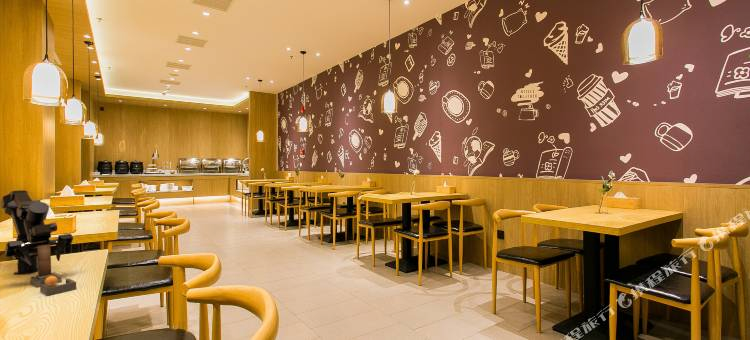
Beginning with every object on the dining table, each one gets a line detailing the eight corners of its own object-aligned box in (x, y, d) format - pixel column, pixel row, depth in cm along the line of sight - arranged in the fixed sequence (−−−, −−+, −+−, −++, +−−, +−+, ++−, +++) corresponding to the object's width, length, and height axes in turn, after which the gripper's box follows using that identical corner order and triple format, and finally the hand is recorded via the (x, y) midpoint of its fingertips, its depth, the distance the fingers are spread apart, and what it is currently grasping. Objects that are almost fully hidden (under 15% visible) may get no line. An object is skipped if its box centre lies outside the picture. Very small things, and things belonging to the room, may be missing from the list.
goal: (40, 291, 127) (40, 284, 127) (69, 285, 134) (69, 278, 134) (46, 296, 123) (46, 288, 123) (76, 289, 130) (76, 282, 130)
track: (30, 283, 137) (30, 277, 136) (54, 278, 142) (54, 272, 142) (36, 287, 132) (36, 281, 132) (61, 282, 137) (61, 276, 137)
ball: (49, 284, 135) (49, 274, 135) (60, 284, 135) (60, 274, 135) (42, 288, 131) (41, 278, 131) (53, 287, 132) (53, 277, 132)
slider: (35, 281, 137) (34, 245, 137) (50, 278, 141) (49, 243, 140) (40, 284, 134) (38, 247, 133) (55, 280, 137) (54, 245, 137)
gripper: (5, 219, 132) (14, 254, 126) (70, 213, 147) (81, 244, 141) (1, 239, 136) (9, 273, 130) (64, 231, 152) (75, 261, 146)
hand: (45, 262), depth 137 cm, fingers open, 7 cm apart
